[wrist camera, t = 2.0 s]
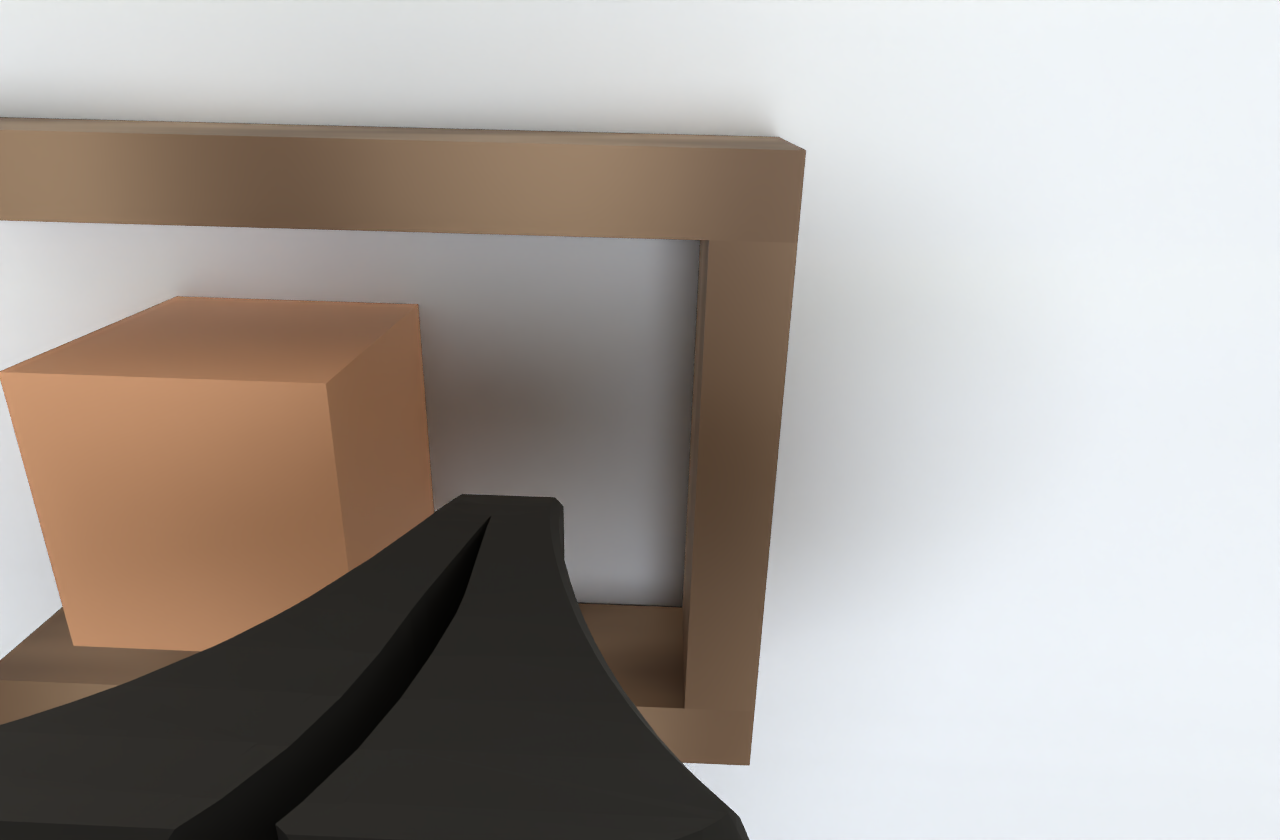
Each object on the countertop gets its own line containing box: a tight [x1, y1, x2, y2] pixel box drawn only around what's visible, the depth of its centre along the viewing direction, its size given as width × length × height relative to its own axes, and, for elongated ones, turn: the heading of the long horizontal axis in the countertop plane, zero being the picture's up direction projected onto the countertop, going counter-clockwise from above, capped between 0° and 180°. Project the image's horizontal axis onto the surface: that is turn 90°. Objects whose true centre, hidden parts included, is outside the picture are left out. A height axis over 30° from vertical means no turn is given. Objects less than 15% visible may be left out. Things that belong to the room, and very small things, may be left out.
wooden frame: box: [0, 117, 806, 765], centre depth 14 cm, size 14×10×3 cm
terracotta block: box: [0, 296, 434, 651], centre depth 14 cm, size 4×4×4 cm
